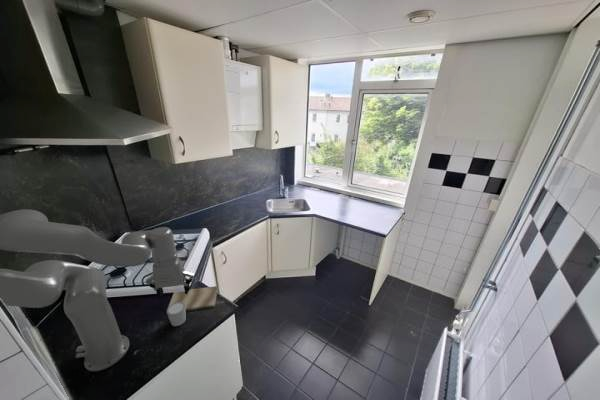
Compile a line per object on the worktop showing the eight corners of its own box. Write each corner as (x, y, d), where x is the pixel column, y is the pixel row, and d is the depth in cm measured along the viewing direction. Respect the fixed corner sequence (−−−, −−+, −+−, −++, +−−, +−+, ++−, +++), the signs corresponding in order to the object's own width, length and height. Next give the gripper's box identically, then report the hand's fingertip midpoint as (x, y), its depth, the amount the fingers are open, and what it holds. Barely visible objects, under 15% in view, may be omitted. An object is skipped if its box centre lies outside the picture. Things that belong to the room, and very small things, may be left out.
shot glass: (183, 311, 99) (180, 299, 96) (190, 319, 95) (188, 307, 92) (166, 321, 94) (163, 308, 91) (173, 330, 90) (170, 318, 87)
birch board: (167, 313, 98) (166, 311, 97) (174, 293, 109) (174, 291, 108) (214, 306, 102) (214, 304, 102) (217, 287, 113) (217, 286, 113)
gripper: (135, 268, 78) (146, 304, 84) (188, 262, 82) (195, 297, 88) (144, 255, 85) (154, 289, 91) (193, 250, 88) (199, 284, 95)
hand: (174, 293), depth 90 cm, fingers open, 9 cm apart
